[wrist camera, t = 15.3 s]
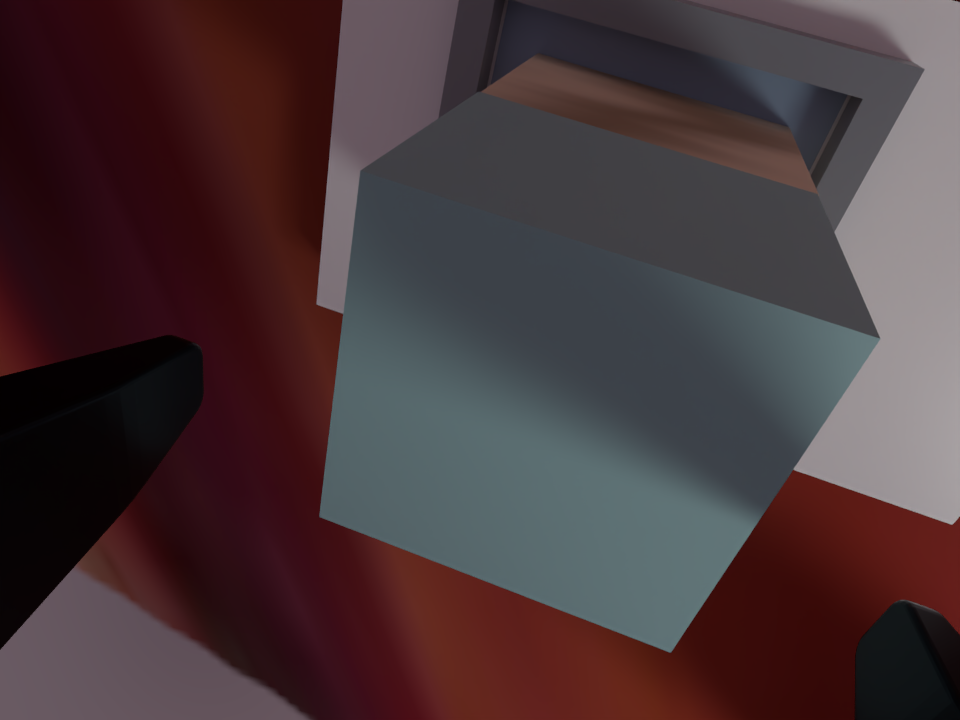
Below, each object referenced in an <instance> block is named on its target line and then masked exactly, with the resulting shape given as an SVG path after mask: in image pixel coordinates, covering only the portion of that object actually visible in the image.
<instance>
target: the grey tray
mask: <svg viewBox="0 0 960 720" xmlns="http://www.w3.org/2000/svg"><path fill="white" fill-rule="evenodd" d="M538 53H540V54H543V55H546V56H550V57H553V58H556V59H560V60H563V61H567V62H570V63H573V64H577V65H580V66H584V67H587V68H590V69H594V70H597V71H600V72H604V73H607V74H611V75H614V76H617V77H621V78H624V79H628V80H631V81H634V82H638V83H641V84H645V85H648V86H651V87H655V88H658V89H661V90H665V91H668V92H672V93H675V94H678V95H682V96H685V97H689V98H692V99H695V100H699V101H702V102H705V103H709V104H712V105H716V106H719V107H722V108H726V109H729V110H733V111H736V112H739V113H743V114H746V115H750V116H753V117H756V118H760V119H763V120H766V121H770V122H773V123H777V124H780V125H783V126H787V127H789V128H790V130H791V132H792V135H793V137H794V139H795V141H796V144H797V146H798V148H799V151H800V153H801V155H802V157H803V160H804V162H805V164H806V167H807V169H808V171H809V173H810V176H811V178H812V180H813V183H814V185H815V187H816V189H817V192H818V194H819V198H820V200H821V203H822V205H823V207H824V210H825V212H826V214H827V217H828V219H829V221H830V223H831V226H832V228H833V230H834V233H835V235H836V237H837V240H838V242H839V244H840V247H841V249H842V251H843V253H844V256H845V258H846V260H847V263H848V265H849V267H850V270H851V272H852V274H853V276H854V279H855V281H856V283H857V286H858V288H859V290H860V293H861V295H862V297H863V300H864V302H865V304H866V306H867V309H868V311H869V313H870V316H871V318H872V320H873V323H874V325H875V327H876V329H877V332H878V334H879V336H880V340H879V342H878V343H877V345H876V346H875V348H874V349H873V351H872V352H871V354H870V355H869V357H868V358H867V360H866V361H865V363H864V364H863V366H862V367H861V369H860V370H859V372H858V373H857V375H856V376H855V378H854V379H853V381H852V382H851V384H850V385H849V387H848V388H847V390H846V391H845V393H844V394H843V396H842V397H841V399H840V400H839V402H838V403H837V405H836V406H835V408H834V409H833V411H832V412H831V414H830V415H829V417H828V418H827V420H826V421H825V423H824V424H823V426H822V427H821V429H820V430H819V432H818V433H817V435H816V436H815V438H814V439H813V441H812V442H811V444H810V445H809V447H808V448H807V450H806V451H805V453H804V454H803V456H802V457H801V459H800V460H799V462H798V463H797V465H796V466H795V468H794V469H793V470H796V471H798V472H801V473H804V474H807V475H810V476H813V477H816V478H819V479H822V480H824V481H827V482H830V483H833V484H836V485H839V486H842V487H845V488H848V489H850V490H853V491H856V492H859V493H862V494H865V495H868V496H871V497H874V498H876V499H879V500H882V501H885V502H888V503H891V504H894V505H897V506H900V507H902V508H905V509H908V510H911V511H914V512H917V513H920V514H923V515H925V516H928V517H931V518H934V519H937V520H940V521H943V522H946V523H949V524H951V525H952V524H953V523H954V522H955V521H956V520H957V519H958V518H959V517H960V2H957V1H953V0H343V5H342V16H341V28H340V39H339V51H338V63H337V74H336V86H335V97H334V109H333V120H332V132H331V143H330V155H329V166H328V178H327V189H326V201H325V212H324V224H323V235H322V247H321V258H320V270H319V281H318V293H317V304H316V305H319V306H322V307H325V308H328V309H331V310H334V311H337V312H339V313H342V314H343V313H344V304H345V296H346V287H347V279H348V270H349V262H350V253H351V245H352V236H353V228H354V220H355V211H356V203H357V194H358V186H359V177H360V170H362V169H363V168H365V167H366V166H368V165H369V164H371V163H372V162H374V161H375V160H377V159H378V158H380V157H381V156H383V155H384V154H386V153H387V152H389V151H390V150H392V149H393V148H395V147H396V146H398V145H399V144H401V143H402V142H404V141H405V140H407V139H408V138H410V137H411V136H413V135H414V134H416V133H417V132H419V131H420V130H422V129H423V128H425V127H426V126H428V125H429V124H431V123H432V122H434V121H435V120H437V119H438V118H440V117H441V116H443V115H444V114H446V113H447V112H449V111H450V110H452V109H453V108H455V107H456V106H458V105H459V104H461V103H462V102H464V101H465V100H467V99H468V98H470V97H471V96H473V95H474V94H476V93H477V92H481V91H483V90H484V89H486V88H487V87H489V86H490V85H492V84H493V83H495V82H496V81H498V80H499V79H501V78H502V77H503V76H505V75H506V74H508V73H509V72H511V71H512V70H514V69H515V68H517V67H518V66H520V65H521V64H523V63H524V62H526V61H527V60H529V59H530V58H532V57H533V56H535V55H536V54H538Z"/></svg>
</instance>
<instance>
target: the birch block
mask: <svg viewBox="0 0 960 720" xmlns="http://www.w3.org/2000/svg"><path fill="white" fill-rule="evenodd" d="M481 92H482V93H486V94H489V95H492V96H496V97H499V98H502V99H506V100H509V101H512V102H515V103H519V104H522V105H525V106H529V107H532V108H535V109H539V110H542V111H545V112H548V113H552V114H555V115H558V116H562V117H565V118H568V119H572V120H575V121H578V122H581V123H585V124H588V125H591V126H595V127H598V128H601V129H605V130H608V131H611V132H614V133H618V134H621V135H624V136H628V137H631V138H634V139H638V140H641V141H644V142H647V143H651V144H654V145H657V146H661V147H664V148H667V149H671V150H674V151H677V152H680V153H684V154H687V155H690V156H694V157H697V158H700V159H704V160H707V161H710V162H713V163H717V164H720V165H723V166H727V167H730V168H733V169H737V170H740V171H743V172H746V173H750V174H753V175H756V176H760V177H763V178H766V179H770V180H773V181H776V182H779V183H783V184H786V185H789V186H793V187H796V188H799V189H803V190H806V191H809V192H812V193H816V194H818V192H817V189H816V187H815V185H814V183H813V180H812V178H811V176H810V173H809V171H808V169H807V167H806V164H805V162H804V160H803V157H802V155H801V153H800V151H799V148H798V146H797V144H796V141H795V139H794V137H793V135H792V132H791V130H790V128H789V127H787V126H783V125H780V124H777V123H773V122H770V121H766V120H763V119H760V118H756V117H753V116H750V115H746V114H743V113H739V112H736V111H733V110H729V109H726V108H722V107H719V106H716V105H712V104H709V103H705V102H702V101H699V100H695V99H692V98H689V97H685V96H682V95H678V94H675V93H672V92H668V91H665V90H661V89H658V88H655V87H651V86H648V85H645V84H641V83H638V82H634V81H631V80H628V79H624V78H621V77H617V76H614V75H611V74H607V73H604V72H600V71H597V70H594V69H590V68H587V67H584V66H580V65H577V64H573V63H570V62H567V61H563V60H560V59H556V58H553V57H550V56H546V55H543V54H540V53H538V54H536V55H535V56H533V57H532V58H530V59H529V60H527V61H526V62H524V63H523V64H521V65H520V66H518V67H517V68H515V69H514V70H512V71H511V72H509V73H508V74H506V75H505V76H503V77H502V78H501V79H499V80H498V81H496V82H495V83H493V84H492V85H490V86H489V87H487V88H486V89H484V90H483V91H481ZM818 196H819V194H818Z"/></svg>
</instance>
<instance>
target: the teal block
mask: <svg viewBox="0 0 960 720" xmlns="http://www.w3.org/2000/svg"><path fill="white" fill-rule="evenodd" d="M879 340H880V336H879V334H878V332H877V329H876V327H875V325H874V323H873V320H872V318H871V316H870V313H869V311H868V309H867V306H866V304H865V302H864V300H863V297H862V295H861V293H860V290H859V288H858V286H857V283H856V281H855V279H854V276H853V274H852V272H851V270H850V267H849V265H848V263H847V260H846V258H845V256H844V253H843V251H842V249H841V247H840V244H839V242H838V240H837V237H836V235H835V233H834V230H833V228H832V226H831V223H830V221H829V219H828V217H827V214H826V212H825V210H824V207H823V205H822V203H821V200H820V198H819V196H818V194H816V193H812V192H809V191H806V190H803V189H799V188H796V187H793V186H789V185H786V184H783V183H779V182H776V181H773V180H770V179H766V178H763V177H760V176H756V175H753V174H750V173H746V172H743V171H740V170H737V169H733V168H730V167H727V166H723V165H720V164H717V163H713V162H710V161H707V160H704V159H700V158H697V157H694V156H690V155H687V154H684V153H680V152H677V151H674V150H671V149H667V148H664V147H661V146H657V145H654V144H651V143H647V142H644V141H641V140H638V139H634V138H631V137H628V136H624V135H621V134H618V133H614V132H611V131H608V130H605V129H601V128H598V127H595V126H591V125H588V124H585V123H581V122H578V121H575V120H572V119H568V118H565V117H562V116H558V115H555V114H552V113H548V112H545V111H542V110H539V109H535V108H532V107H529V106H525V105H522V104H519V103H515V102H512V101H509V100H506V99H502V98H499V97H496V96H492V95H489V94H486V93H482V92H477V93H476V94H474V95H473V96H471V97H470V98H468V99H467V100H465V101H464V102H462V103H461V104H459V105H458V106H456V107H455V108H453V109H452V110H450V111H449V112H447V113H446V114H444V115H443V116H441V117H440V118H438V119H437V120H435V121H434V122H432V123H431V124H429V125H428V126H426V127H425V128H423V129H422V130H420V131H419V132H417V133H416V134H414V135H413V136H411V137H410V138H408V139H407V140H405V141H404V142H402V143H401V144H399V145H398V146H396V147H395V148H393V149H392V150H390V151H389V152H387V153H386V154H384V155H383V156H381V157H380V158H378V159H377V160H375V161H374V162H372V163H371V164H369V165H368V166H366V167H365V168H363V169H362V170H360V177H359V186H358V194H357V203H356V211H355V220H354V228H353V236H352V245H351V253H350V262H349V270H348V279H347V287H346V296H345V304H344V313H343V321H342V329H341V338H340V346H339V355H338V363H337V372H336V380H335V389H334V397H333V406H332V414H331V423H330V431H329V439H328V448H327V456H326V465H325V473H324V482H323V490H322V499H321V507H320V516H319V517H321V518H324V519H326V520H329V521H332V522H334V523H337V524H339V525H342V526H345V527H347V528H350V529H352V530H355V531H357V532H360V533H363V534H365V535H368V536H370V537H373V538H376V539H378V540H381V541H383V542H386V543H388V544H391V545H394V546H396V547H399V548H401V549H404V550H407V551H409V552H412V553H414V554H417V555H419V556H422V557H425V558H427V559H430V560H432V561H435V562H437V563H440V564H443V565H445V566H448V567H450V568H453V569H456V570H458V571H461V572H463V573H466V574H468V575H471V576H474V577H476V578H479V579H481V580H484V581H487V582H489V583H492V584H494V585H497V586H499V587H502V588H505V589H507V590H510V591H512V592H515V593H518V594H520V595H523V596H525V597H528V598H530V599H533V600H536V601H538V602H541V603H543V604H546V605H549V606H551V607H554V608H556V609H559V610H561V611H564V612H567V613H569V614H572V615H574V616H577V617H580V618H582V619H585V620H587V621H590V622H592V623H595V624H598V625H600V626H603V627H605V628H608V629H611V630H613V631H616V632H618V633H621V634H623V635H626V636H629V637H631V638H634V639H636V640H639V641H641V642H644V643H647V644H649V645H652V646H654V647H657V648H660V649H662V650H665V651H667V652H670V653H671V652H672V650H673V649H674V647H675V646H676V644H677V643H678V641H679V640H680V638H681V637H682V635H683V634H684V632H685V631H686V629H687V628H688V626H689V625H690V623H691V622H692V620H693V619H694V617H695V616H696V614H697V613H698V611H699V610H700V608H701V607H702V605H703V604H704V602H705V601H706V599H707V598H708V596H709V595H710V593H711V592H712V590H713V589H714V587H715V586H716V584H717V583H718V581H719V580H720V578H721V577H722V575H723V574H724V572H725V571H726V569H727V568H728V566H729V565H730V563H731V562H732V560H733V559H734V557H735V556H736V554H737V553H738V551H739V550H740V548H741V547H742V545H743V544H744V542H745V541H746V539H747V538H748V536H749V535H750V533H751V532H752V530H753V529H754V527H755V526H756V524H757V523H758V521H759V520H760V518H761V517H762V515H763V514H764V512H765V511H766V509H767V508H768V507H769V505H770V504H771V502H772V501H773V499H774V498H775V496H776V495H777V493H778V492H779V490H780V489H781V487H782V486H783V484H784V483H785V481H786V480H787V478H788V477H789V475H790V474H791V472H792V471H793V469H794V468H795V466H796V465H797V463H798V462H799V460H800V459H801V457H802V456H803V454H804V453H805V451H806V450H807V448H808V447H809V445H810V444H811V442H812V441H813V439H814V438H815V436H816V435H817V433H818V432H819V430H820V429H821V427H822V426H823V424H824V423H825V421H826V420H827V418H828V417H829V415H830V414H831V412H832V411H833V409H834V408H835V406H836V405H837V403H838V402H839V400H840V399H841V397H842V396H843V394H844V393H845V391H846V390H847V388H848V387H849V385H850V384H851V382H852V381H853V379H854V378H855V376H856V375H857V373H858V372H859V370H860V369H861V367H862V366H863V364H864V363H865V361H866V360H867V358H868V357H869V355H870V354H871V352H872V351H873V349H874V348H875V346H876V345H877V343H878V342H879Z"/></svg>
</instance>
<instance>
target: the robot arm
mask: <svg viewBox="0 0 960 720" xmlns="http://www.w3.org/2000/svg"><path fill="white" fill-rule="evenodd" d="M203 394H204V384H203V354H202V350H201V348H200V346H199V345H197V344H196V343H194V342H191V341H188V340H186V339H183V338H180V337H177V336H173V335H166V336H161V337H157V338H153V339H149V340H145V341H141V342H137V343H133V344H129V345H125V346H121V347H117V348H113V349H109V350H105V351H101V352H97V353H93V354H89V355H85V356H81V357H77V358H73V359H69V360H65V361H61V362H57V363H53V364H49V365H45V366H41V367H37V368H33V369H29V370H25V371H21V372H17V373H13V374H9V375H5V376H1V377H0V649H1V648H2V647H3V646H4V645H5V644H6V643H7V641H8V640H9V639H10V638H11V637H12V636H13V635H14V633H16V631H17V630H18V629H19V628H20V627H21V626H22V625H23V624H24V622H25V621H26V620H27V619H28V618H29V617H30V615H32V613H33V612H34V611H35V610H36V609H37V608H38V607H39V606H40V604H41V603H42V602H43V601H44V600H45V599H46V598H47V596H49V594H50V593H51V592H52V591H53V590H54V589H55V588H56V587H57V585H58V584H59V583H60V582H61V581H62V580H63V579H64V578H65V576H66V575H67V574H68V573H69V572H70V571H71V570H72V569H73V568H74V566H75V565H76V564H77V563H78V562H79V561H80V560H81V559H82V557H83V556H84V555H85V554H86V553H87V552H88V551H89V550H90V548H91V547H92V546H93V545H94V544H95V543H96V542H97V541H98V540H99V538H100V537H101V536H102V535H103V534H104V533H105V532H106V531H107V529H108V528H109V527H110V526H111V525H112V524H113V523H114V522H115V520H116V519H117V518H118V517H119V516H120V515H121V514H122V512H123V511H124V510H125V509H126V508H127V507H128V505H129V504H130V503H131V502H132V501H133V499H134V498H135V497H136V496H137V494H138V493H139V492H140V490H141V489H142V488H143V486H144V485H145V484H146V482H147V481H148V479H149V478H150V477H151V475H152V474H153V472H154V471H155V470H156V468H157V467H158V465H159V464H160V463H161V461H162V460H163V459H164V457H165V456H166V454H167V453H168V452H169V450H170V449H171V447H172V446H173V445H174V443H175V442H176V440H177V439H178V438H179V436H180V435H181V433H182V432H183V431H184V429H185V428H186V426H187V425H188V424H189V422H190V421H191V419H192V418H193V417H194V415H195V414H196V412H197V411H198V409H199V407H200V405H201V403H202V400H203ZM855 720H960V635H959V634H958V633H957V631H956V630H955V629H954V628H953V627H952V626H951V624H950V623H949V622H948V621H947V620H946V619H945V618H944V616H943V615H941V614H940V613H939V612H937V611H935V610H933V609H930V608H928V607H925V606H922V605H919V604H916V603H914V602H911V601H908V600H899V601H897V602H894V603H893V604H892V605H891V606H890V607H889V608H888V609H887V610H886V611H885V612H884V614H883V615H882V616H881V617H880V618H879V619H878V620H877V621H876V622H875V623H874V624H873V625H872V626H871V628H870V629H869V630H868V631H867V632H866V633H865V634H864V635H863V636H862V638H861V639H860V641H859V643H858V646H857V650H856V655H855Z"/></svg>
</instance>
